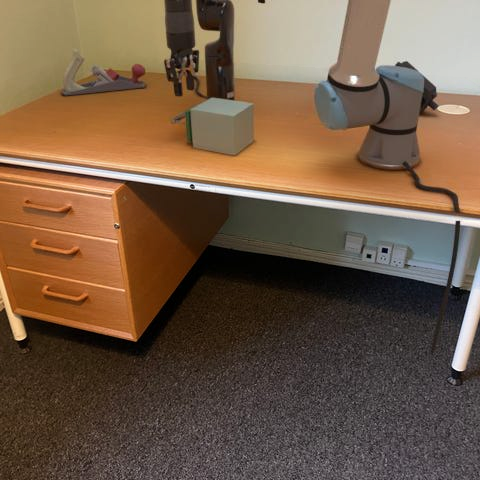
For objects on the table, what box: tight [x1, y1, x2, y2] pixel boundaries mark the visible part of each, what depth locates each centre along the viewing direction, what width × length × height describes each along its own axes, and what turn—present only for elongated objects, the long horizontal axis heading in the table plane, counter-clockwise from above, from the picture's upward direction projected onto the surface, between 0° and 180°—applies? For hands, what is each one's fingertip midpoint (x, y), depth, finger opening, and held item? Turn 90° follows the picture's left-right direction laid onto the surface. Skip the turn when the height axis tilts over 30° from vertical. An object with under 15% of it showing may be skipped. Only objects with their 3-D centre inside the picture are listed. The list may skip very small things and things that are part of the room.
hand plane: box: [61, 48, 146, 96], centre depth 194 cm, size 7×31×15 cm, turn 107°
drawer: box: [169, 100, 206, 144], centre depth 149 cm, size 18×10×9 cm, turn 62°
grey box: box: [189, 98, 255, 156], centre depth 147 cm, size 13×12×11 cm
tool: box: [394, 60, 439, 114], centre depth 169 cm, size 6×19×15 cm, turn 51°
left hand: (184, 92), depth 148 cm, fingers open, 5 cm apart
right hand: (282, 0), depth 149 cm, fingers open, 13 cm apart
